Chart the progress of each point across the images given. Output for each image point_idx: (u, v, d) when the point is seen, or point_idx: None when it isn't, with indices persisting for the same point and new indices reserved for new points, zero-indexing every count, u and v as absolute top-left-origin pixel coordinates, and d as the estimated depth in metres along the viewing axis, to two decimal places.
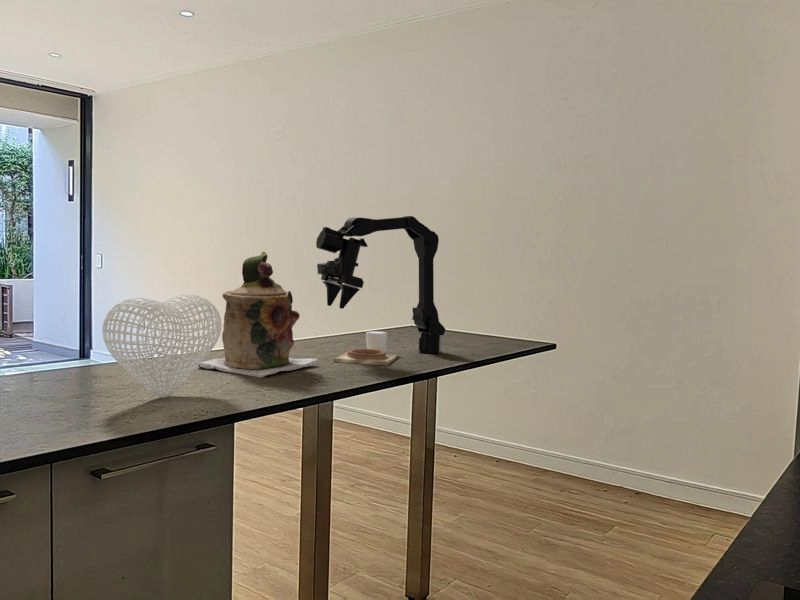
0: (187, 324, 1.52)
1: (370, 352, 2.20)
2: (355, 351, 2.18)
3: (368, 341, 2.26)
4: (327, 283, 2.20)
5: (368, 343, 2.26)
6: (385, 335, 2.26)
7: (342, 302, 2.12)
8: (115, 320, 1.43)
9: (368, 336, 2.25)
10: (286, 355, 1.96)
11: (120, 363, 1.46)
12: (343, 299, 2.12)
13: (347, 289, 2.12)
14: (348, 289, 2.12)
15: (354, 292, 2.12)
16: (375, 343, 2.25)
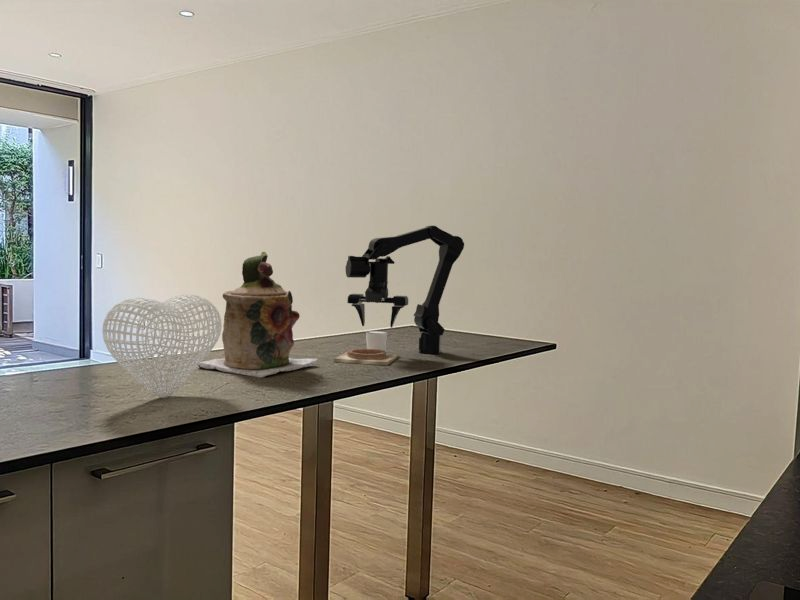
0: (187, 324, 1.52)
1: (370, 352, 2.20)
2: (355, 351, 2.18)
3: (368, 341, 2.26)
4: (360, 306, 2.26)
5: (368, 343, 2.26)
6: (385, 335, 2.26)
7: (393, 322, 2.26)
8: (115, 320, 1.43)
9: (368, 336, 2.25)
10: (286, 355, 1.96)
11: (120, 363, 1.46)
12: (393, 319, 2.25)
13: None
14: None
15: (399, 309, 2.27)
16: (375, 343, 2.25)
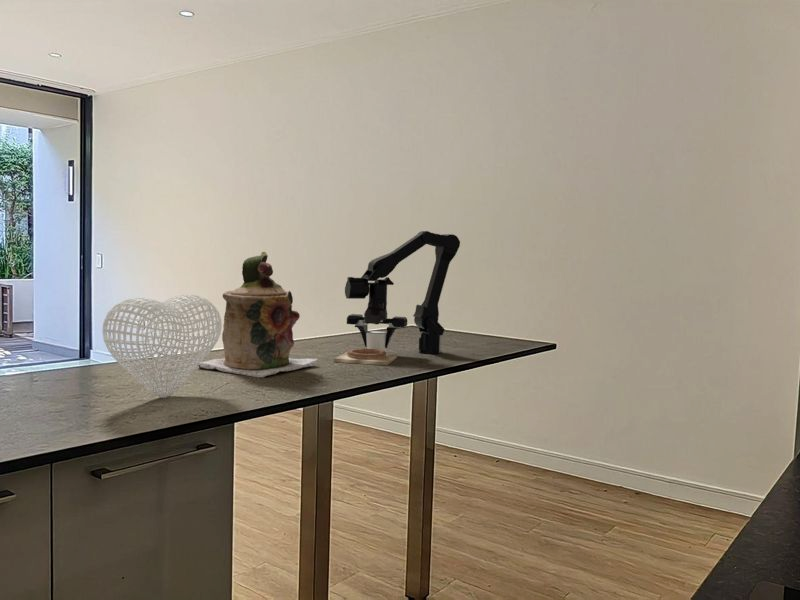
0: (187, 324, 1.52)
1: (370, 352, 2.20)
2: (355, 351, 2.18)
3: (368, 341, 2.26)
4: (363, 327, 2.26)
5: (368, 343, 2.26)
6: (385, 335, 2.26)
7: (388, 342, 2.26)
8: (115, 320, 1.43)
9: (368, 336, 2.25)
10: (286, 355, 1.96)
11: (120, 363, 1.46)
12: (388, 340, 2.26)
13: None
14: None
15: (394, 330, 2.28)
16: (375, 343, 2.25)
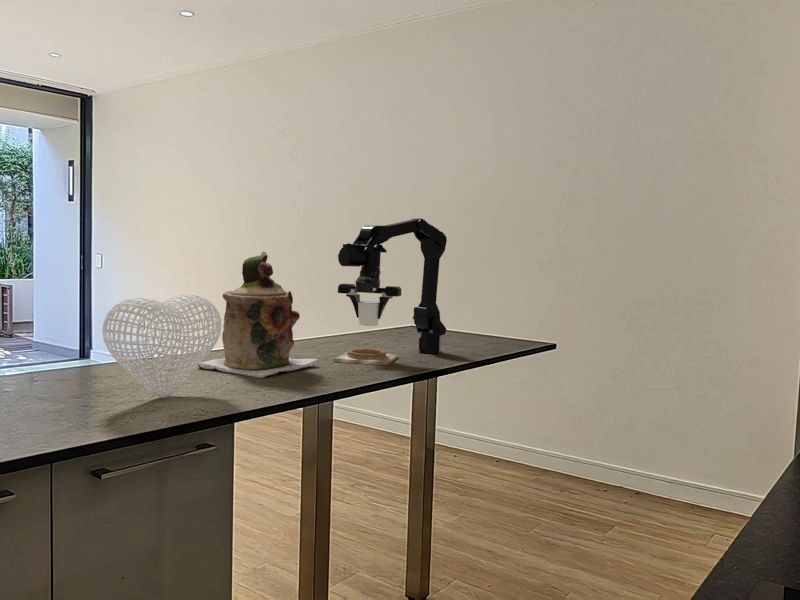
0: (187, 324, 1.52)
1: (370, 352, 2.20)
2: (355, 351, 2.18)
3: (360, 311, 2.15)
4: (355, 296, 2.15)
5: (360, 313, 2.15)
6: (378, 305, 2.15)
7: (381, 313, 2.15)
8: (115, 320, 1.43)
9: (360, 306, 2.15)
10: (286, 355, 1.96)
11: (120, 363, 1.46)
12: (381, 310, 2.15)
13: None
14: None
15: (387, 300, 2.17)
16: (367, 313, 2.14)
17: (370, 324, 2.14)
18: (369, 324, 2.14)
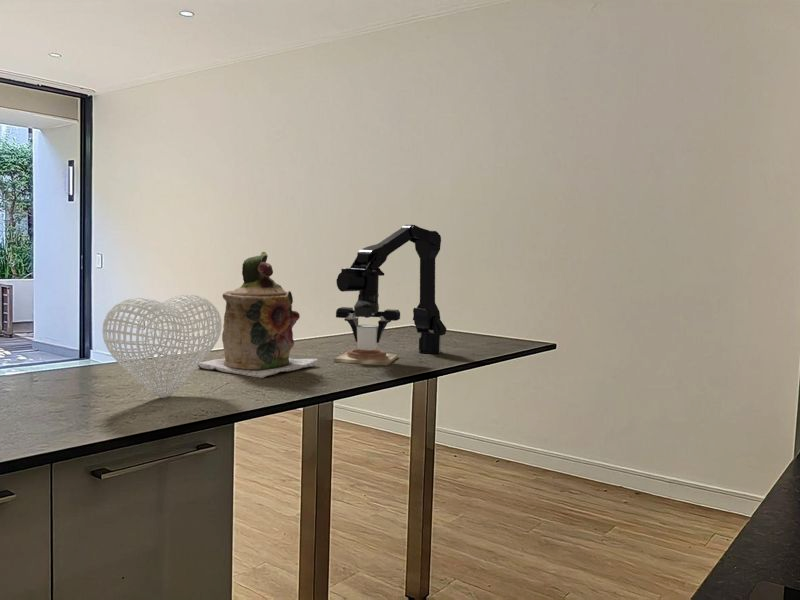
0: (187, 324, 1.52)
1: (370, 352, 2.20)
2: (355, 351, 2.18)
3: (359, 335, 2.13)
4: (353, 320, 2.13)
5: (359, 337, 2.13)
6: (377, 329, 2.13)
7: (380, 337, 2.14)
8: (115, 320, 1.43)
9: (359, 330, 2.13)
10: (286, 355, 1.96)
11: (120, 363, 1.46)
12: (380, 334, 2.14)
13: None
14: None
15: (386, 323, 2.16)
16: (366, 337, 2.12)
17: (369, 349, 2.13)
18: (368, 348, 2.13)
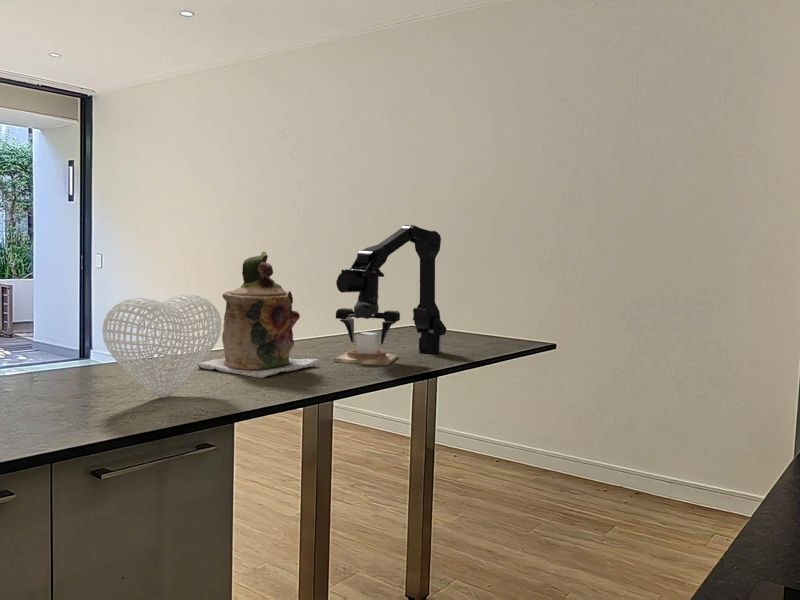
0: (187, 324, 1.52)
1: None
2: (355, 351, 2.18)
3: (358, 343, 2.13)
4: (349, 321, 2.14)
5: (358, 345, 2.13)
6: (376, 336, 2.13)
7: (384, 338, 2.14)
8: (115, 320, 1.43)
9: (358, 338, 2.13)
10: (286, 355, 1.95)
11: (120, 363, 1.46)
12: (384, 335, 2.14)
13: None
14: None
15: (390, 325, 2.16)
16: (365, 345, 2.12)
17: None
18: None
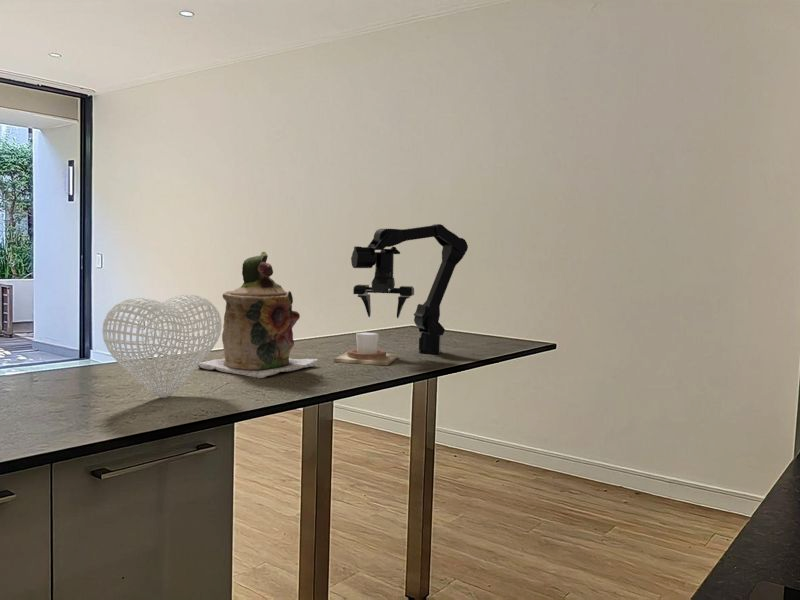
0: (187, 324, 1.52)
1: None
2: (355, 351, 2.18)
3: (358, 343, 2.13)
4: (366, 296, 2.25)
5: (358, 345, 2.14)
6: (376, 336, 2.13)
7: (399, 312, 2.25)
8: (115, 320, 1.43)
9: (358, 337, 2.13)
10: (286, 355, 1.95)
11: (120, 363, 1.46)
12: (400, 309, 2.25)
13: None
14: None
15: (405, 300, 2.27)
16: (365, 345, 2.12)
17: None
18: None
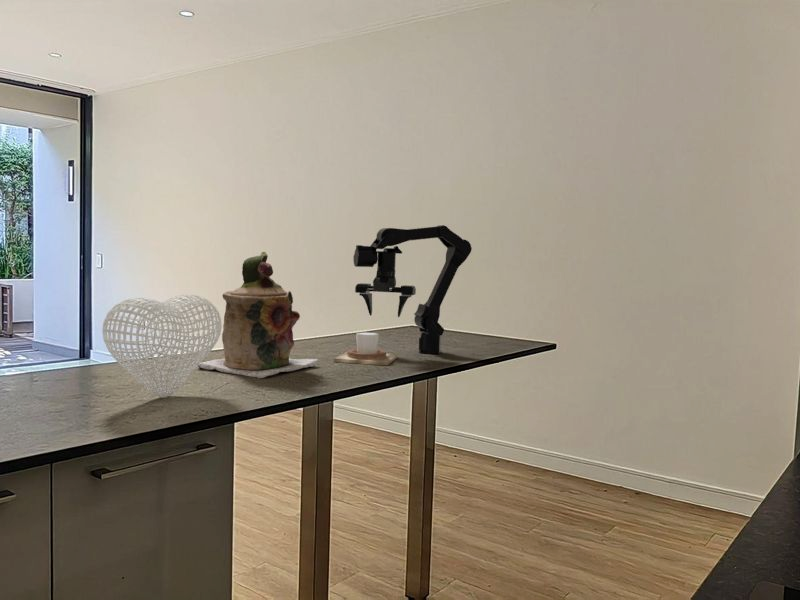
0: (187, 324, 1.52)
1: None
2: (355, 351, 2.18)
3: (358, 343, 2.13)
4: (368, 295, 2.27)
5: (358, 345, 2.14)
6: (376, 337, 2.13)
7: (400, 311, 2.27)
8: (115, 320, 1.43)
9: (358, 338, 2.13)
10: (286, 356, 1.95)
11: (120, 363, 1.46)
12: (401, 308, 2.27)
13: None
14: None
15: (406, 299, 2.29)
16: (366, 345, 2.12)
17: None
18: None
